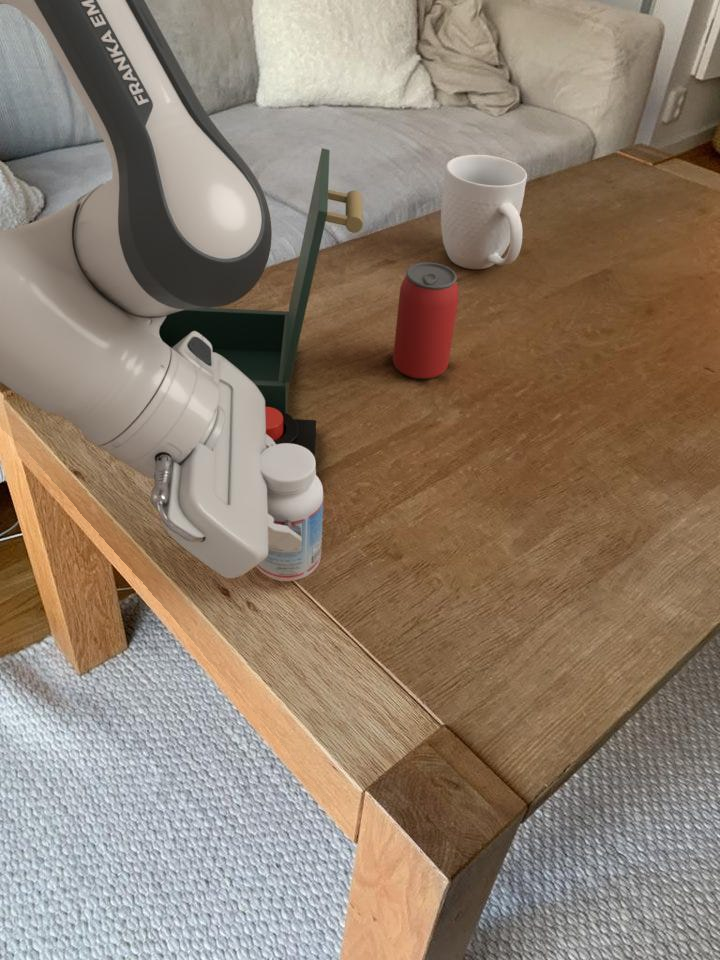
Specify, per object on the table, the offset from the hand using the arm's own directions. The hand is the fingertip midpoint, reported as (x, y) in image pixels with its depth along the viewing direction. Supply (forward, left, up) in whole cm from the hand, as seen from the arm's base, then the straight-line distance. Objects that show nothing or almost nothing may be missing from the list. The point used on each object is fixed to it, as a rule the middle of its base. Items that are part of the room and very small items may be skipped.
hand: (294, 509), depth 68 cm
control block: (-4, +14, -7) cm, 16 cm away
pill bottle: (-1, 0, -6) cm, 6 cm away
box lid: (-1, +26, +9) cm, 28 cm away
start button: (-4, +14, -3) cm, 15 cm away
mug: (+23, +59, -7) cm, 64 cm away
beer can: (+13, +32, -7) cm, 36 cm away
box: (-11, +26, -7) cm, 29 cm away
